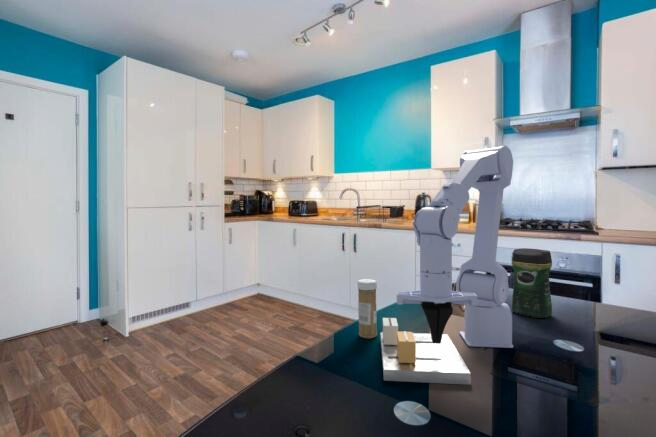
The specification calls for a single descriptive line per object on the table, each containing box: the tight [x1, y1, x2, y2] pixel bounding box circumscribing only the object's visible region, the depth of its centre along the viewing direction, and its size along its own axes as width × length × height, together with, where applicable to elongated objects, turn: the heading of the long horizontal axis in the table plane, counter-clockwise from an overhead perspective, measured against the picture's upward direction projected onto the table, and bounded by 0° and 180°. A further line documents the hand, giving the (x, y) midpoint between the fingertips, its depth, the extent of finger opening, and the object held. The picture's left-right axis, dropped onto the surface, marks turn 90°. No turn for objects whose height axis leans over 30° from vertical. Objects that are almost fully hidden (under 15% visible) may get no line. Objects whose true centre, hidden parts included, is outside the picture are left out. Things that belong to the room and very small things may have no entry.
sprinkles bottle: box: [357, 278, 378, 339], centre depth 82 cm, size 5×5×14 cm
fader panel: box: [380, 331, 472, 386], centre depth 69 cm, size 15×18×2 cm
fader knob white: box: [382, 317, 399, 345], centre depth 74 cm, size 3×5×4 cm, turn 173°
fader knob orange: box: [397, 330, 416, 363], centre depth 66 cm, size 3×5×4 cm, turn 173°
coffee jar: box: [510, 247, 553, 319], centre depth 96 cm, size 10×8×19 cm
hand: (436, 341), depth 65 cm, fingers closed
